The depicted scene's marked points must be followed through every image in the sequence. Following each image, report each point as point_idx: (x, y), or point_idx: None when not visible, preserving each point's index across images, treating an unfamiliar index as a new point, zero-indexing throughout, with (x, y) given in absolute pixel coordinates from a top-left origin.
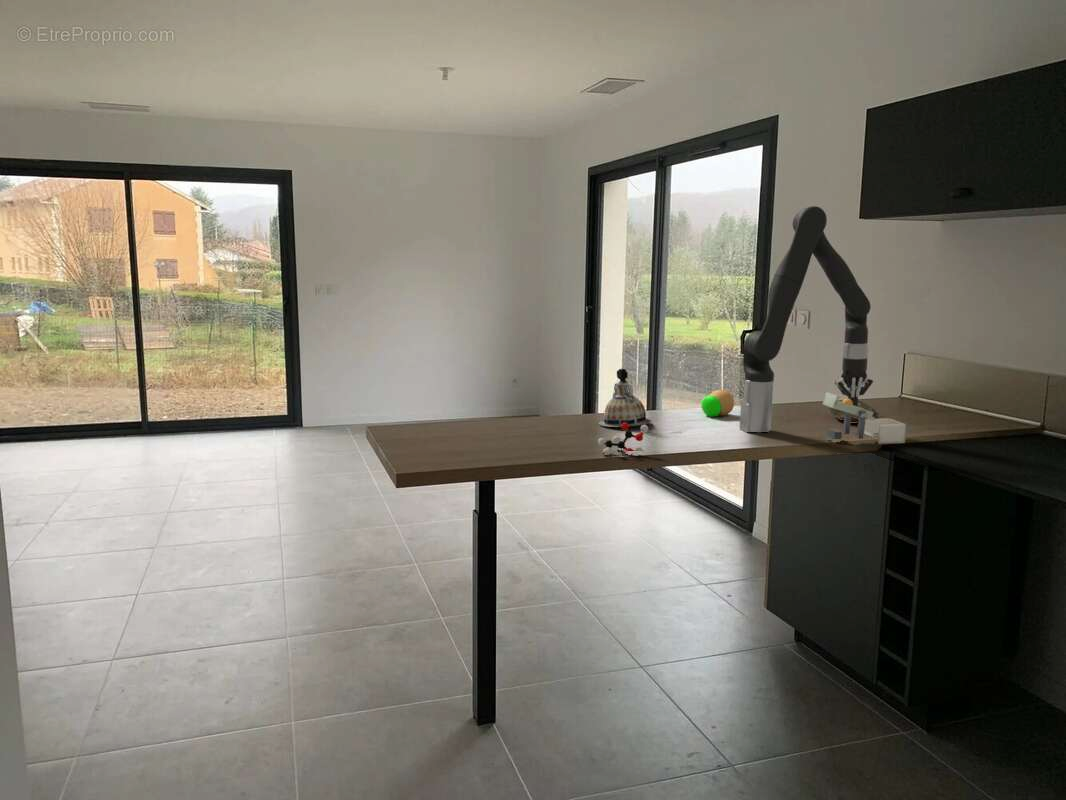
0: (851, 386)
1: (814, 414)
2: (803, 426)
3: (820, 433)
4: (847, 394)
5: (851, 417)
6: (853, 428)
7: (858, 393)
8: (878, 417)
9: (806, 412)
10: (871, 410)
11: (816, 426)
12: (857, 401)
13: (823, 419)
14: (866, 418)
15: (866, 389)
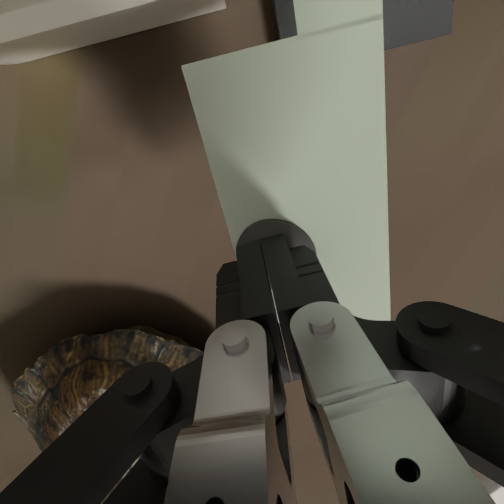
0: (476, 497)
1: (295, 466)
2: (467, 282)
3: (475, 114)
4: (445, 316)
5: (198, 355)
6: (207, 265)
7: (220, 373)
8: (38, 370)
9: (313, 485)
10: (64, 417)
11: (396, 288)
12: (222, 297)
13: (293, 408)
14: (113, 344)
15: (37, 476)
